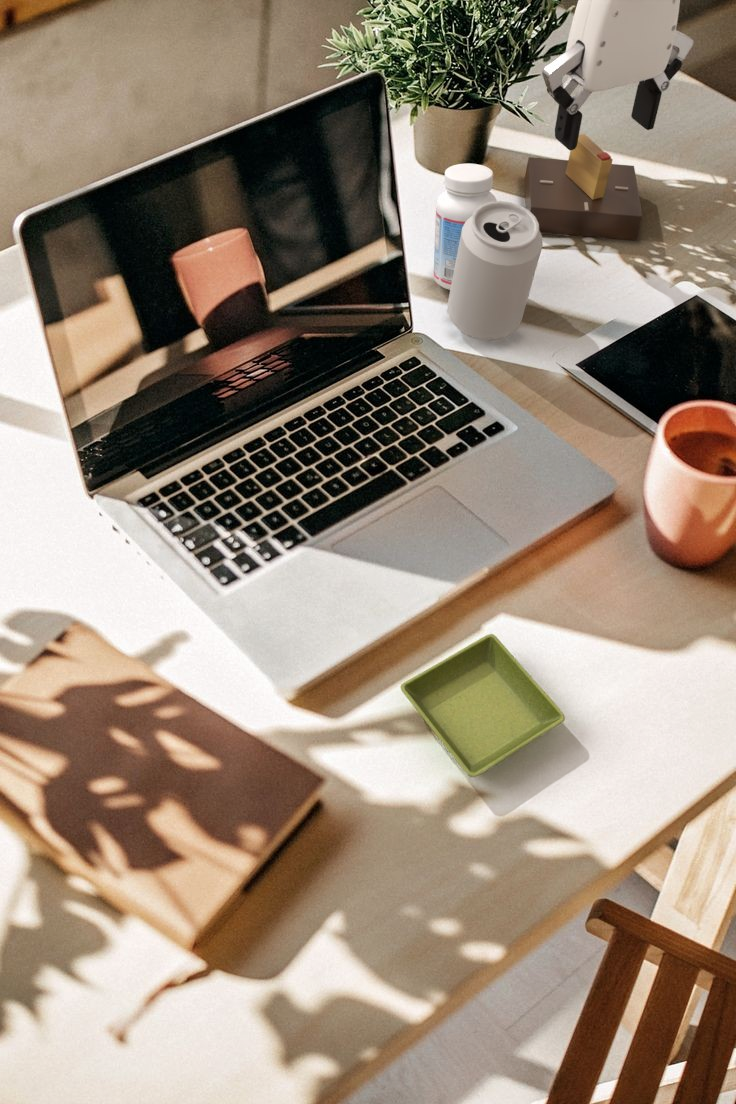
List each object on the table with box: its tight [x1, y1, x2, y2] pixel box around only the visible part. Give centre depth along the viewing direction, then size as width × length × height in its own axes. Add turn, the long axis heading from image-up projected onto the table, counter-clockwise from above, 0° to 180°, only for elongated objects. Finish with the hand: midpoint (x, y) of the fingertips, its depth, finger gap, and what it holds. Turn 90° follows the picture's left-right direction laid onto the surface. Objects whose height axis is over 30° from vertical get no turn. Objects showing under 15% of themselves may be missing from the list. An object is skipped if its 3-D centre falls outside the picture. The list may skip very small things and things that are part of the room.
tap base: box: [523, 156, 643, 241], centre depth 115 cm, size 12×10×3 cm
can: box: [447, 200, 543, 341], centre depth 98 cm, size 8×8×12 cm
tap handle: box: [566, 133, 613, 200], centre depth 112 cm, size 6×1×5 cm, turn 26°
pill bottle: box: [433, 162, 498, 291], centre depth 103 cm, size 6×6×11 cm
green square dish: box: [400, 633, 566, 778], centre depth 74 cm, size 9×9×2 cm
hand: (603, 133), depth 109 cm, fingers open, 9 cm apart
